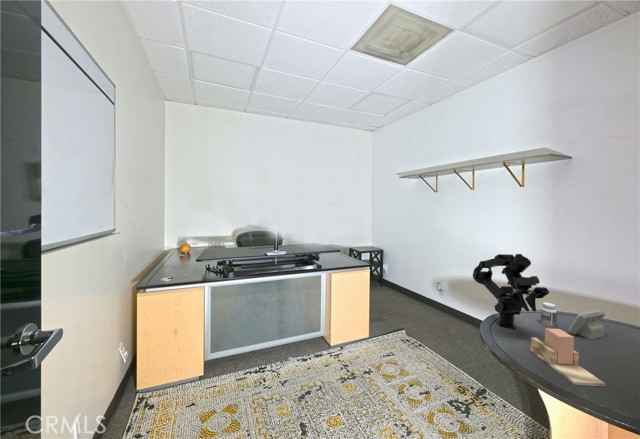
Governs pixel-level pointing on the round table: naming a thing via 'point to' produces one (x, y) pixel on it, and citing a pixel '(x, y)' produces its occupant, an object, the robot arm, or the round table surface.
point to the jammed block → (560, 345)
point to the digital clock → (588, 325)
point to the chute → (564, 365)
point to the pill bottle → (548, 314)
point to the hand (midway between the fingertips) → (531, 311)
